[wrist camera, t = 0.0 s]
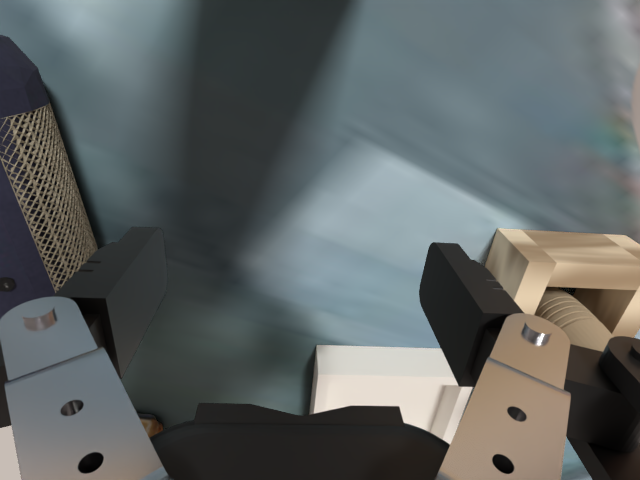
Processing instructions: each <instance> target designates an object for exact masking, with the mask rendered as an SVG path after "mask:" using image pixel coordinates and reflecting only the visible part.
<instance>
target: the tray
mask: <svg viewBox="0 0 640 480" xmlns="http://www.w3.org/2000/svg"><path fill="white" fill-rule="evenodd" d="M472 388H473V387H459V386H458V384H457V381H456V379H455V377H454V375H453V373H452V371H451V369H450V366H449V364H448V362H447V360H446V358H445V356H444V354H443V351H442V349H441V348H407V347H371V346H335V345H316V355H315V364H314V374H313V383H312V393H311V402H310V412H309V415H310V414H314V413H319V412H324V411H328V410H333V409H338V408H342V407H347V406H351V405H353V406H399V407H400V411H401V414H402V418H403V422H404V423H407V424H410V425H413V426H416V427H419V428H422V429H424V430H426V431H428V432H430V433H432V434H434V435H436V436H437V437H439V438H441V439H443V440H444V441H446V442H447V443H448V444H451V442H452V440H453V437H454V434H455V432H456V429H457V427H458V424H459V421H460V419H461V416H462V414H463V411H464V409H465V406H466V403H467V401H468V398H469V396H470V393H471V390H472Z"/></svg>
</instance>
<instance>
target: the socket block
mask: <svg viewBox="0 0 640 480" xmlns="http://www.w3.org/2000/svg"><path fill="white" fill-rule="evenodd" d="M485 268H487V269H488V270H489V271H490V272H491V273H492V275H493V276H494V277H495V278H496V281H498V282H499V283H500V284H501V286H502V287H503V290H506V292H507V293H508V294H509V295H510V296H511V298H512V299H513V300H514V301H515V302H516V304H517V305H518V306H519V307H520V308H521V310H522V311H523V312H524V313H525V314H531V315H534V314H535V312H536V309H537V307H538V305H539V302H540V300H541V298H542V296H543V293H544V291H545V289H546V286H548V287H572V288H576V290H575V292H574V294H573V297H574V298H575V299H576V300H578V301H579V302H580V303H581V304H582V305H583V306H585V307H586V308H587V309H588V310H589V311H590V312H591V313H592V314H593V315H594V316H595V317H596V318H597V319H598V320H599V321H600V322H601V323H602V324H603V325H604V326H605V327H606V328H607V329H608V330H609V332H610V333H611V334H612V335H613V336H614V337H616V336H626V337H632V338H634V337H635V335H636V333H637V332H638V330H639V328H640V244H638V243H636V242H635V241H633V240H632V239H630V238H629V237H627V236H626V235H610V234H592V233H573V232H555V231H537V230H518V229H500V228H497V231H496V234H495V237H494V240H493V243H492V246H491V249H490V252H489V255H488V258H487V261H486V264H485Z"/></svg>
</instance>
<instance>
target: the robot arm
mask: <svg viewBox="0 0 640 480" xmlns="http://www.w3.org/2000/svg"><path fill="white" fill-rule="evenodd" d="M167 283H168V273H167V263H166V254H165V245H164V236H163V232H162V230H161V228H150V227H132V228H131V229H130V230H129V231H128V232H127V233H126V234H125V235H124V236H123V238H122V239H121V240H120V241H119V242H118V243H117V242H112V243H110V244H108V245H106V246H104V247H102V248H100V249H98V250H97V251H95V252H94V254H93V255H92V256H91V257H90V258H89V259H88V260H87V262H86V263H84V264H83V265H82V266H81V267H80V268H79V269H78V272H75V274H74V275H73V276H72V277H71V278H70V279H69V280H68V281H67V282H66V283H65V284H64V285H63V286H62V287H61V288H60V289H59V290H58V291H57V292H56V293H55V295H54V296H53V297H44V298H39V299H34V300H31V301H28V302H25V303H23V304H20V305H18V306H16V307H14V308H13V309H11V310H10V311H8V312H7V313H6V314H5V315H4V316H3V317H2V318H1V319H0V428H2V427H6V426H10V425H12V430H13V436H14V441H15V447H16V452H17V457H18V463H19V468H20V474H21V479H22V480H561V472H562V464H563V456H564V448H565V440H566V436H567V438H568V440H569V442H570V443H571V445H572V447H573V448H574V450H575V452H576V453H577V455H578V456H579V458H580V460H581V461H582V463H583V465H584V466H585V468H586V470H587V471H588V473H589V474H590V476H591V478H592V479H593V480H640V340H639V339H636V338H632V337H626V336H616V337H613V338H611V339H609V341H608V343H607V345H606V347H605V349H604V351H603V352H602V351H598V350H594V349H589V348H585V347H581V346H577V345H573V344H570V340H569V338H568V336H567V335H566V333H565V332H564V331H563V330H562V329H561V328H559V327H558V326H556V325H555V324H553V323H552V322H550V321H548V320H546V319H543V318H541V317H538V316H535V315H531V314H525V313H524V312H523V311H522V310H521V308H520V307H519V306H518V305H517V304H516V302H515V301H514V300H513V299H512V298H511V296H510V295H509V294H508V293H507V292H506V290H503V287H502V286H501V284H500V283H499V282H498V281H496V278H495V277H494V276H493V275H492V273H491V272H490V271H489V270H488V269H487V268H485V267H484V266H482V265H481V264H479V263H478V262H476V261H475V260H471V259H470V258H469V257H468V256H467V254H466V253H465V252H464V251H463V249H462V248H461V247H460V245H459V244H455V243H435V242H433V243H432V244H431V245H430V247H429V250H428V254H427V258H426V262H425V266H424V271H423V275H422V279H421V284H420V290H419V297H420V303H421V306H422V308H423V311H424V313H425V315H426V317H427V319H428V321H429V323H430V326H431V328H432V330H433V332H434V334H435V336H436V338H437V341H438V343H439V345H440V347H441V349H442V351H443V354H444V356H445V358H446V360H447V362H448V364H449V366H450V369H451V371H452V373H453V375H454V377H455V379H456V381H457V384H458V386H459V387H475V388H474V391H473V393H472V395H471V398H470V400H469V402H468V405H467V407H466V409H465V412H464V414H463V416H462V419H461V421H460V423H459V426H458V428H457V430H456V433H455V435H454V437H453V440H452V442H451V444H448V443H447V442H446V441H444V440H443V439H441V438H439V437H437V436H436V435H434V434H432V433H430V432H428V431H426V430H424V429H422V428H419V427H416V426H413V425H410V424H407V423H404V422H403V418H402V414H401V411H400V407H399V406H353V405H351V406H347V407H342V408H338V409H333V410H328V411H324V412H319V413H314V414H310V415H304V416H299V415H294V414H290V413H285V412H281V411H277V410H273V409H269V408H265V407H260V406H256V405H252V404H221V403H199V405H198V408H197V412H196V416H195V420H192V421H188V422H184V423H181V424H178V425H175V426H172V427H170V428H168V429H165V430H163V431H161V432H159V433H157V434H155V435H153V436H151V437H150V438H149V437H148V435H147V433H146V431H145V429H144V427H143V425H142V423H141V421H140V419H139V417H138V415H137V413H136V411H135V409H134V407H133V405H132V403H131V401H130V399H129V397H128V395H127V393H126V390H125V388H124V386H123V384H122V382H121V380H120V379H122V377H123V375H124V373H125V371H126V369H127V367H128V365H129V363H130V361H131V360H132V358H133V356H134V354H135V352H136V350H137V348H138V346H139V344H140V342H141V340H142V338H143V336H144V334H145V332H146V331H147V329H148V327H149V325H150V323H151V321H152V319H153V317H154V315H155V313H156V311H157V309H158V307H159V305H160V304H161V302H162V300H163V298H164V296H165V293H166V290H167Z"/></svg>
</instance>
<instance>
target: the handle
mask: <svg viewBox="0 0 640 480" xmlns="http://www.w3.org/2000/svg"><path fill="white" fill-rule="evenodd" d="M560 288H561V287H548V286H546V289H545V291H544V293H543V296H542V298H541V300H540V302H539V305H538V307H537V309H536V312H535V314H534V315H535V316H538V317H541V318H543V319H546V320H548V321H550V322H552V323H553V324H555V325H556V326H558V327H559V328H561V329H562V330H563V331H564V332H565V333H566V335H567V336H568V338H569V340H570V344H573V345H577V346H581V347H585V348H589V349H594V350H598V351H602V352H603V351H604V349H605V347H606V345H607V343H608V341H609V339H611V338H613V337H614V336H613V335H612V334H611V333H610V332H609V330H608V329H607V328H606V327H605V326H604V325H603V324H602V323H601V322H600V321H599V320H598V319H597V318H596V317H595V316H594V315H593V314H592V313H591V312H590V311H589V310H588V309H587V308H586V307H585V306H583V305H582V304H581V303H580V302H579V301H578V300H576V299H575V298H574V297H572V296H571V295H570V294H568V293H567V292H565V291H564V290H561V289H560Z"/></svg>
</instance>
